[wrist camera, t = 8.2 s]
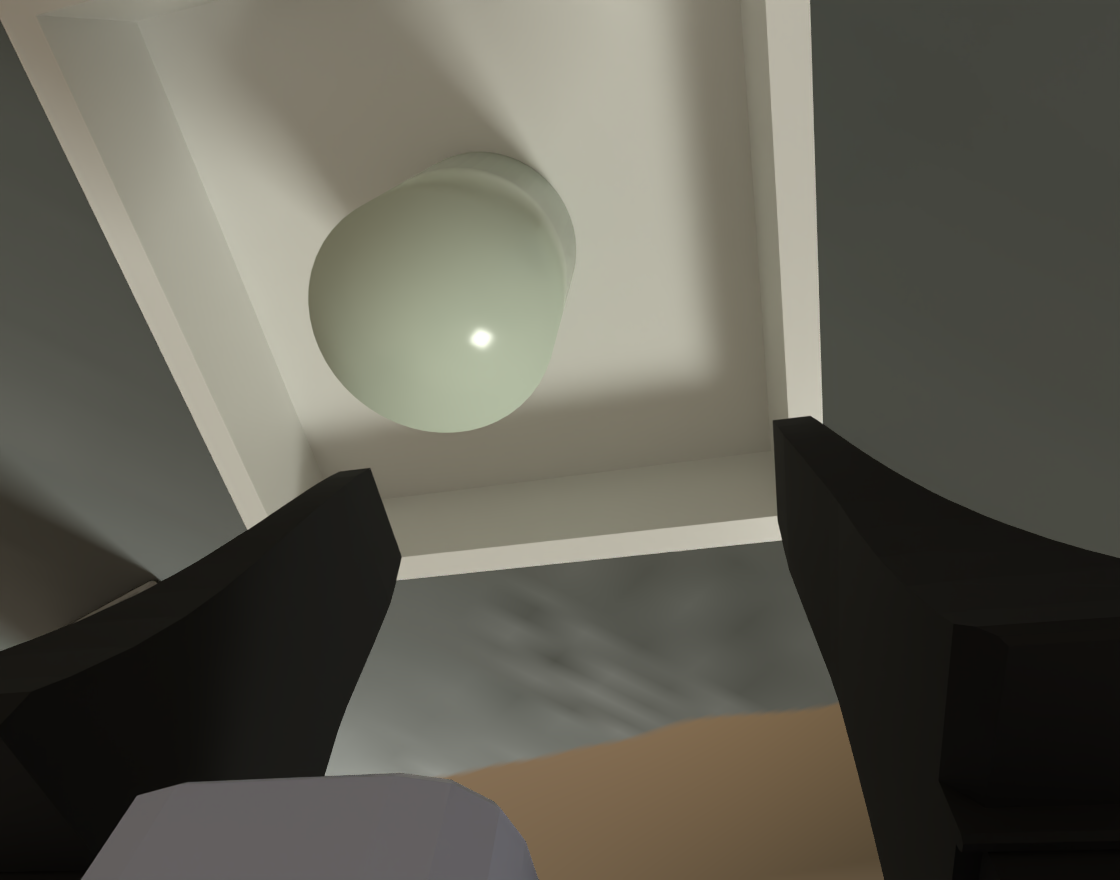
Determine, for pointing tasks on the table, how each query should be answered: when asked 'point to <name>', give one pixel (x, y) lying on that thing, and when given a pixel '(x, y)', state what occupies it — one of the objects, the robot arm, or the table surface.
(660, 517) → the white bin
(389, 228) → the sage green capsule
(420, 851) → the robot arm
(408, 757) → the table surface
